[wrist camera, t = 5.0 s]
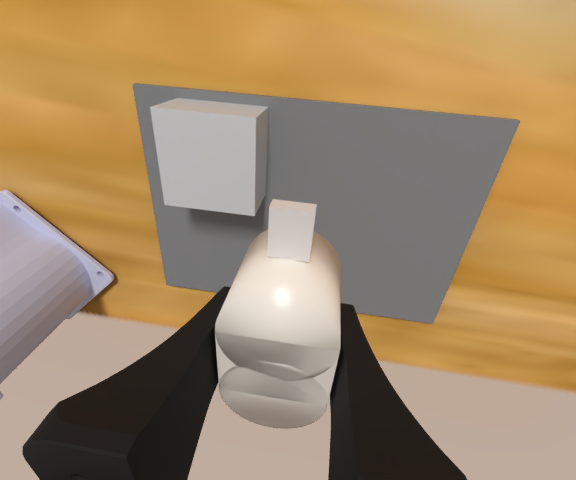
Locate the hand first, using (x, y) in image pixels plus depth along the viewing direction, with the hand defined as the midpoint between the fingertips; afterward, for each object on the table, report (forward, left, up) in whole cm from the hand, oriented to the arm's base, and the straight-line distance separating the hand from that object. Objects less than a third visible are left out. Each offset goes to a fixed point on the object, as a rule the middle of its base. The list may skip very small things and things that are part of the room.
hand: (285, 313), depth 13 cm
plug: (0, 0, -1) cm, 1 cm away
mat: (0, 0, -9) cm, 9 cm away
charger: (-6, -1, -8) cm, 10 cm away
